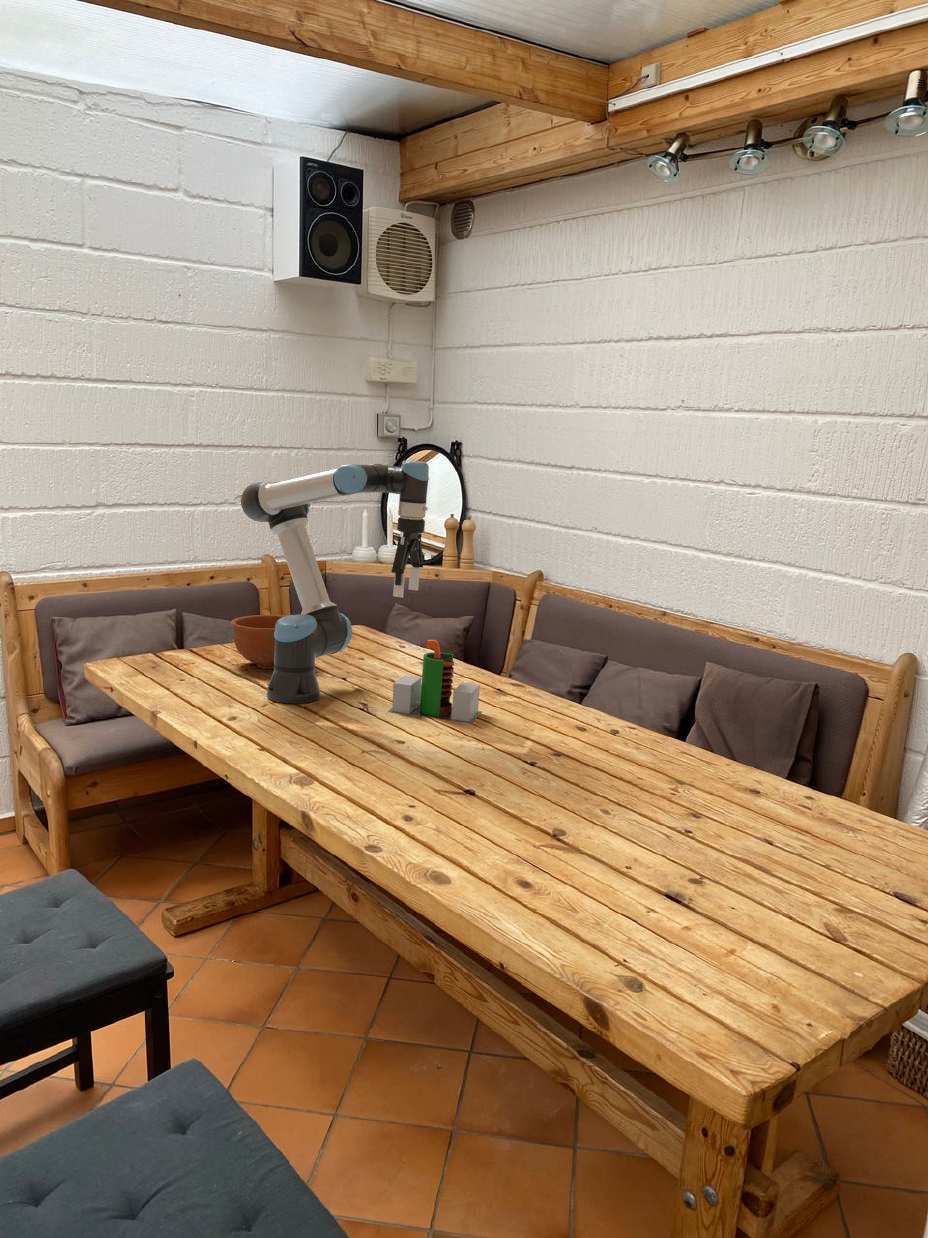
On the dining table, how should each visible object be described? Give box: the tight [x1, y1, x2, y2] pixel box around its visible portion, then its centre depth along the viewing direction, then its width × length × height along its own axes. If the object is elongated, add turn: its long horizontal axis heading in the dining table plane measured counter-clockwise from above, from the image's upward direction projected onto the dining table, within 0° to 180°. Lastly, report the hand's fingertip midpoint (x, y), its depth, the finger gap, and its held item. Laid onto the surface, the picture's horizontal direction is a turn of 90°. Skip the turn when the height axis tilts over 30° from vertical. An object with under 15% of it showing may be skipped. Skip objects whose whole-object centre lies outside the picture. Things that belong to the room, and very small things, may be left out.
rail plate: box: [387, 705, 483, 724], centre depth 265 cm, size 24×12×2 cm, turn 76°
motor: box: [420, 639, 455, 716], centre depth 264 cm, size 10×9×20 cm
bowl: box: [230, 614, 286, 670], centre depth 309 cm, size 25×25×15 cm
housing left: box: [391, 675, 422, 714], centre depth 266 cm, size 5×10×8 cm, turn 166°
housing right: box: [452, 681, 481, 721], centre depth 262 cm, size 5×10×8 cm, turn 166°
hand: (405, 593), depth 267 cm, fingers open, 13 cm apart
